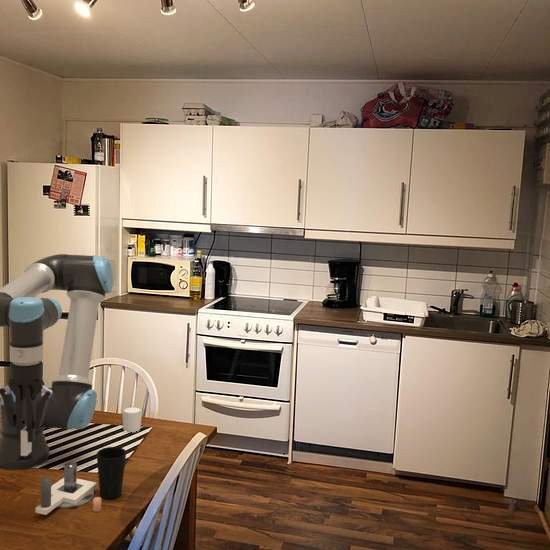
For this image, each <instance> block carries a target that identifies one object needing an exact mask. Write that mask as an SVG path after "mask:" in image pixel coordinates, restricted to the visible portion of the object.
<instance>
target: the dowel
mask: <svg viewBox="0 0 550 550" xmlns="http://www.w3.org/2000/svg"><path fill="white" fill-rule="evenodd" d="M92 501H93V502H92V511H93V512H96V513H98V512H101V510H102V498H101V497H100V496H95V497H93V498H92Z"/></svg>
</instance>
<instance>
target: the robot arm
mask: <svg viewBox="0 0 550 550" xmlns="http://www.w3.org/2000/svg"><path fill="white" fill-rule="evenodd" d="M112 268H113V267H112V265H111V262H110V260H109V259H108V258H107V257H105V256H98V255H87V254H86V255H85V254H84V255H83V254H81V255H80V254H67V253H66V254H64V253H60V254H59V253H58V254H54V255H49V256H46V257H43V258H41V259H38V260H36V261H35V262H32V263H31V264H29V265H28V266H27V267H25V269H24V271H23V273H22V274H20V275H19V276H17V277H16V278H14V279H13V280H11V281H9V282H8V283H7V284H5V285H4V286H2V287H1V288H0V328H9V361H10V363H9V381H8V383H7V384H6V385H4V386H2V387H1V388H0V468H3V469H7V470H22V469H30V468H33V467H36V466H39V465H41V464H43V463H45V462H46V461H47V460H48V459H49V456H50V447H49V445H48V444H47V440H46V436H45V434H44V428H47V429H49V428H50V429H67V430H82V429H85V428H87V427H88V426H89V424H90V422H91V421H92V419H93V417H94V413H95V411H96V406H97V401H98V400H97V398H98V395H97V391H96V390H95V389H93V383H92V382H91V380H90V379H89V375H90V374H89V372H90V368H91V367H90V366H91V360H92V354H93V353H92V352H93V349H94V348H93V346H94V340H95V334H96V327H97V319H98V312H99V305H100V303H103V301H104V300H105V298H106V294H110V293H112V291H113V286H114V278H113V277H114V276H113V269H112ZM49 291H65V292H66V296H67V297H68V298H69V300H70V304H69V309H68V316H67V321H66V328H65V333H64V334H65V335H64V340H63V347H62V354H61V359H60V365H59V366H60V367H59V372H58V376H56V378H54V379H53V380H52V382H51V386H50V387H46V386H45V382H44V380H43V376H44V363H43V361H42V360H43V359H44V331H45V330H47V329H49V328H51V327H54V325H56V323H58V321H59V320H60V319H61V317H62V313H63V309H62V306H61V304H60V303H59V301H57V299H55V298H53V297H50V296H49V297H48V296H47V297H40V298H39V297H38V295H40V294H45V293H47V292H49Z"/></svg>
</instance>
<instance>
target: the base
mask: <svg viewBox="0 0 550 550" xmlns="http://www.w3.org/2000/svg"><path fill="white" fill-rule="evenodd" d="M63 465H64V466H63V478H64V489H63V490H62V491H63V492H67V493H72V494H73V493H74V492H76V491H77V490H78V489H80V488H77V479H78V477H77V475H78V472H77V471H78V463H77V462H75V461H68V462H65V463H64V464H63ZM94 491H95V489H94V490H93V491H92V492H90V493H89V494H88V495H86V496H85V497H84V498H83V499H81V500H80V501H79V502H77V503H76V504H71V503H67V502H62V503H61V504H60V505H58V506H57V507H56V508H59V509H71V508H76V507H77V508H78V507H80V506H83V505H85V504H88V502H90V501H91V500H93V498H94Z"/></svg>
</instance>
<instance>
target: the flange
mask: <svg viewBox="0 0 550 550" xmlns="http://www.w3.org/2000/svg"><path fill="white" fill-rule="evenodd" d="M77 488H80V489H78V490H77V491H76V492H74V493H73V494H72V493H67V492H63V491H62V490H63V489H64V477H63V478H61V479H59V480H58V481H56V483H54V484H52V477H51V476H44V477H42V478H40V504H39V505H38V506H36V507H35V513H36V514H39V515H40V514H41V515H45V516H47V515H48V514H49V513H51V512H52V511H53V510H54V509H55V508H58V507H57V506H58V505H60V504H61V503H62V502H67V503H71V504H76V503H77V502H79V501H80V500H81V499H83V498H84V497H85V496H86V495H88V494H89V493H90V492H92V491H93V490H94V491H95V490H96V489H97V488H98V482H96V481H91V480H85V479H81V478H77Z"/></svg>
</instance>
